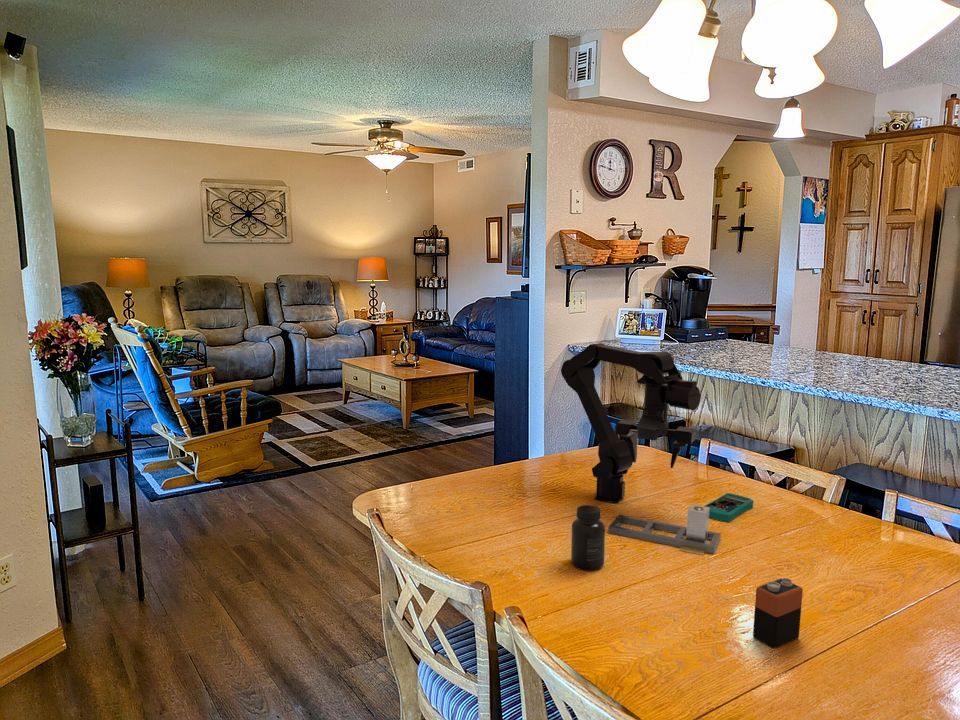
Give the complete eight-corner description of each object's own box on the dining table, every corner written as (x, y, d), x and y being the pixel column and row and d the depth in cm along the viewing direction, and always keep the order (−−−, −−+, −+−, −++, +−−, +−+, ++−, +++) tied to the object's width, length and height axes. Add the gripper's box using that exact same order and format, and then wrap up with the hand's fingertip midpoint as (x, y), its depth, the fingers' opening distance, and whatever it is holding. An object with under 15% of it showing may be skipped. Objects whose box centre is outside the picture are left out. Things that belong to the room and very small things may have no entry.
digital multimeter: (699, 516, 169) (700, 505, 168) (725, 501, 179) (726, 490, 179) (728, 525, 164) (728, 513, 163) (753, 509, 174) (754, 498, 174)
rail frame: (605, 535, 156) (606, 529, 156) (619, 520, 165) (619, 514, 164) (712, 557, 145) (712, 550, 145) (720, 539, 154) (720, 533, 154)
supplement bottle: (606, 559, 143) (608, 505, 142) (601, 573, 137) (603, 516, 135) (574, 554, 146) (575, 501, 144) (567, 568, 139) (569, 512, 137)
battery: (751, 637, 115) (755, 581, 113) (777, 626, 118) (781, 572, 116) (774, 650, 111) (778, 592, 109) (800, 638, 114) (804, 582, 113)
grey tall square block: (685, 544, 151) (687, 509, 150) (689, 538, 155) (691, 503, 153) (704, 548, 149) (706, 512, 148) (707, 541, 153) (709, 506, 152)
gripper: (608, 405, 164) (606, 468, 166) (688, 414, 155) (684, 480, 157) (622, 397, 173) (619, 456, 176) (697, 405, 165) (694, 467, 167)
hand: (653, 465), depth 169 cm, fingers open, 9 cm apart
